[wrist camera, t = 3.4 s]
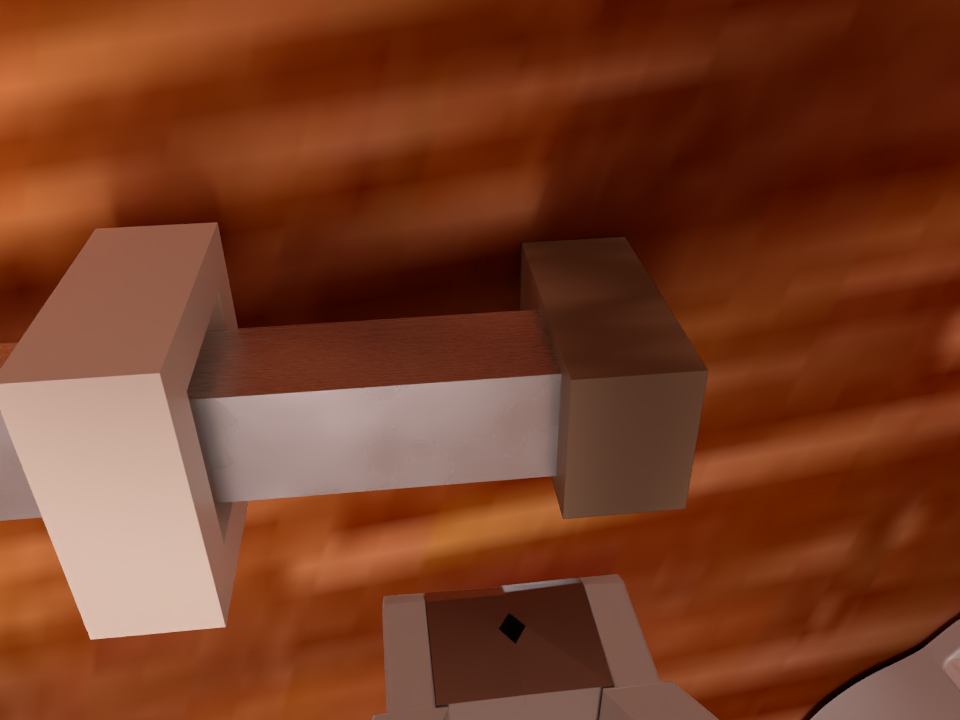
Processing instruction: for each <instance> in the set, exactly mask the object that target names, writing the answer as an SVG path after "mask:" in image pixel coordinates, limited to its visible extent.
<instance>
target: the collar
mask: <svg viewBox="0 0 960 720" xmlns="http://www.w3.org/2000/svg"><path fill="white" fill-rule="evenodd" d="M237 328H238V326H237V320H236V315H235V310H234V305H233V300H232V294H231V289H230V284H229V279H228V274H227V268H226V263H225V258H224V253H223V248H222V242H221V237H220V232H219V227H218V222H214V223H195V224H176V225H156V226H137V227H118V228H99V229H95V231H94V232H93V234H92V235H91V236H90V238H89V239H88V241H87V242H86V244H85V245H84V247H83V248H82V250H81V251H80V253H79V254H78V256H77V257H76V258H75V260H74V261H73V263H72V264H71V266H70V267H69V269H68V270H67V272H66V273H65V275H64V276H63V278H62V279H61V281H60V282H59V283H58V285H57V286H56V288H55V289H54V291H53V292H52V294H51V295H50V297H49V298H48V300H47V301H46V303H45V304H44V306H43V307H42V308H41V310H40V311H39V313H38V314H37V316H36V317H35V319H34V320H33V322H32V323H31V325H30V326H29V328H28V329H27V331H26V332H25V333H24V335H23V336H22V338H21V339H20V341H19V342H18V344H17V345H16V347H15V348H14V350H13V351H12V353H11V354H10V356H9V357H8V358H7V360H6V361H5V363H4V364H3V366H2V367H1V369H0V412H1V414H2V417H3V419H4V422H5V424H6V427H7V429H8V432H9V435H10V437H11V440H12V442H13V445H14V447H15V450H16V452H17V455H18V457H19V460H20V462H21V465H22V467H23V470H24V472H25V475H26V478H27V480H28V483H29V485H30V488H31V490H32V493H33V495H34V498H35V500H36V503H37V505H38V508H39V510H40V513H41V515H42V518H43V521H44V523H45V526H46V528H47V531H48V533H49V536H50V538H51V541H52V543H53V546H54V548H55V551H56V553H57V556H58V558H59V561H60V564H61V566H62V569H63V571H64V574H65V576H66V579H67V581H68V584H69V586H70V589H71V591H72V594H73V596H74V599H75V601H76V604H77V607H78V609H79V612H80V614H81V617H82V619H83V622H84V624H85V627H86V629H87V632H88V634H89V637H90V639H91V640H92V639H103V638H113V637H124V636H135V635H145V634H156V633H167V632H177V631H188V630H199V629H209V628H220V627H226V622H227V617H228V611H229V606H230V600H231V595H232V589H233V584H234V578H235V572H236V567H237V561H238V556H239V550H240V545H241V539H242V533H243V528H244V522H245V517H246V511H247V506H248V501H237V502H225V503H214V502H213V498H212V493H211V489H210V485H209V481H208V477H207V473H206V469H205V465H204V460H203V456H202V452H201V448H200V444H199V440H198V436H197V432H196V427H195V423H194V419H193V415H192V411H191V407H190V403H189V399H188V394H187V389H188V385H189V382H190V379H191V376H192V373H193V370H194V367H195V364H196V361H197V358H198V355H199V352H200V348H201V345H202V342H203V339H204V336H205V333H206V330H222V329H237Z"/></svg>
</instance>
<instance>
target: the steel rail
mask: <svg viewBox="0 0 960 720" xmlns="http://www.w3.org/2000/svg"><path fill="white" fill-rule="evenodd" d="M17 344H18V342H15V343H0V369H1V367H2V366H3V364H4V363H5V361H6V360H7V358H8V357H9V356H10V354H11V353H12V351H13V350H14V348H15V347H16V345H17ZM560 391H561V371H560V369H559V366H558V363H557V360H556V357H555V354H554V351H553V349H552V346H551V343H550V340H549V337H548V334H547V331H546V329H545V326H544V323H543V320H542V317H541V314H540V311H539V310H523V311H507V312H491V313H475V314H460V315H444V316H428V317H412V318H396V319H380V320H364V321H348V322H333V323H317V324H301V325H285V326H269V327H253V328H237V329H222V330H206V333H205V336H204V339H203V342H202V345H201V348H200V352H199V355H198V358H197V361H196V364H195V367H194V370H193V373H192V376H191V379H190V382H189V385H188V389H187V394H188V399H189V403H190V407H191V411H192V415H193V419H194V423H195V427H196V432H197V436H198V440H199V444H200V448H201V452H202V456H203V460H204V465H205V469H206V473H207V477H208V481H209V485H210V489H211V493H212V498H213V502H214V503H225V502H237V501H250V500H262V499H275V498H287V497H299V496H312V495H324V494H336V493H349V492H361V491H373V490H386V489H398V488H411V487H423V486H435V485H448V484H460V483H472V482H485V481H497V480H509V479H522V478H534V477H546V476H556V468H557V448H558V429H559V410H560ZM40 517H42V515H41V513H40V510H39V508H38V505H37V503H36V500H35V498H34V495H33V493H32V490H31V488H30V485H29V483H28V480H27V478H26V475H25V472H24V470H23V467H22V465H21V462H20V460H19V457H18V455H17V452H16V450H15V447H14V445H13V442H12V440H11V437H10V435H9V432H8V429H7V427H6V424H5V422H4V419H3V417H2V414H1V412H0V521H3V520H15V519H27V518H40Z"/></svg>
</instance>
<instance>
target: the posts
mask: <svg viewBox="0 0 960 720" xmlns="http://www.w3.org/2000/svg"><path fill="white" fill-rule="evenodd" d="M523 310H539V311H540V314H541V317H542V320H543V323H544V326H545V329H546V331H547V334H548V337H549V340H550V343H551V346H552V349H553V351H554V354H555V357H556V360H557V363H558V366H559V369H560V371H561V391H560V410H559V429H558V448H557V468H556V476H551V478H552V481H553V485H554V488H555V492H556V496H557V499H558V503H559V506H560V510H561V513H562V517H563V519H570V518H582V517H594V516H605V515H617V514H629V513H640V512H652V511H664V510H675V509H685V508H686V502H687V496H688V490H689V484H690V477H691V471H692V465H693V459H694V453H695V447H696V441H697V435H698V429H699V423H700V417H701V411H702V405H703V399H704V393H705V387H706V381H707V375H708V369H707V368H706V366H705V365H704V363H703V361H702V360H701V358H700V356H699V355H698V353H697V352H696V350H695V348H694V347H693V345H692V344H691V342H690V340H689V339H688V337H687V336H686V334H685V332H684V331H683V329H682V328H681V326H680V324H679V323H678V321H677V319H676V318H675V316H674V315H673V313H672V311H671V310H670V308H669V307H668V305H667V303H666V302H665V300H664V299H663V297H662V295H661V294H660V292H659V290H658V289H657V287H656V286H655V284H654V282H653V281H652V279H651V278H650V276H649V274H648V273H647V271H646V270H645V268H644V266H643V265H642V263H641V262H640V260H639V258H638V257H637V255H636V253H635V252H634V250H633V249H632V247H631V245H630V244H629V242H628V241H627V239H626V237H613V238H595V239H577V240H559V241H541V242H523V243H521V289H520V311H523Z"/></svg>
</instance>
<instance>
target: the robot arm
mask: <svg viewBox="0 0 960 720" xmlns="http://www.w3.org/2000/svg"><path fill="white" fill-rule="evenodd" d="M382 612H383V636H384V660H385V684H386V708H387V713H384V714H377V715H374V716H373V718H372V720H719V719H718V718H716V717H715V716H714V715H713V714H712V713H710V712H709V711H708V710H707V709H706V708H704V707H703V706H702V705H701V704H700V703H698V702H697V701H696V700H695V699H693V698H692V697H691V696H690V695H689V694H687V693H686V692H685V691H684V690H683V689H681V688H680V687H679V686H678V685H677V684H675V683H674V682H673V681H669V682H661V681H660V679H659V676H658V673H657V671H656V668H655V665H654V663H653V660H652V657H651V654H650V652H649V649H648V646H647V644H646V641H645V638H644V636H643V633H642V630H641V627H640V625H639V622H638V619H637V617H636V614H635V611H634V609H633V606H632V603H631V600H630V598H629V595H628V592H627V590H626V587H625V584H624V582H623V580H622V579H621V577H620V576H619V575H618V574H613V575H603V576H594V577H584V578H579V579H577V578H570V579H561V580H552V581H543V582H533V583H524V584H515V585H506V586H501V587H497V588H483V589H469V590H455V591H441V592H427V593H425V595H424V594H423V593H420V594H408V595H395V596H384V597H383V606H382ZM810 720H960V619H959V620H958V621H956V622H955V623H954V624H952V625H951V626H950V627H948V628H947V629H946V630H944V631H943V632H942V633H941V634H940V635H938V636H937V637H936V638H935V639H933V640H932V641H931V642H930V643H929V644H927V645H926V646H925V647H924V648H922V649H921V650H919V651H917V652H916V653H914V654H912V655H910V656H908V657H906V658H904V659H902V660H900V661H898V662H896V663H894V664H892V665H890V666H888V667H886V668H884V669H882V670H880V671H878V672H876V673H874V674H872V675H870V676H868V677H866V678H865V679H863V680H861V681H859V682H858V683H856V684H855V685H853V686H851V687H850V688H848V689H847V690H845V691H844V692H842V693H841V694H840V695H838V696H837V697H835V698H834V699H833V700H832V701H830V702H829V703H828V704H827V705H825V706H824V707H823V708H822V709H821V710H820V711H818V712H817V713H816V714H815V715H814V716H813V717H812V718H811V719H810Z"/></svg>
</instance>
